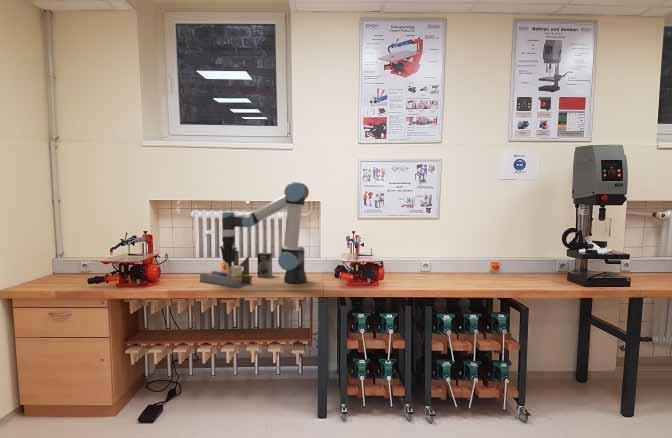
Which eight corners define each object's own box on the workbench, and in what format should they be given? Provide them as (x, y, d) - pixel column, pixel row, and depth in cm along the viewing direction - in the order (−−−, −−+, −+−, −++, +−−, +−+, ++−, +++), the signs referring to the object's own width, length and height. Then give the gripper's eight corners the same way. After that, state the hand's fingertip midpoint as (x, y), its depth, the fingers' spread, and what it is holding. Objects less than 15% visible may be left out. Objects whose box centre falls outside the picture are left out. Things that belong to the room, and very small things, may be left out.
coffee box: (257, 276, 255) (257, 253, 255) (260, 275, 262) (260, 252, 261) (269, 277, 254) (269, 254, 253) (272, 275, 261) (272, 252, 260)
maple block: (241, 281, 234) (241, 266, 234) (233, 283, 228) (233, 268, 228) (235, 280, 237) (235, 265, 237) (226, 282, 231) (226, 267, 231)
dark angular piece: (248, 276, 256) (248, 251, 255) (232, 276, 255) (232, 251, 254) (249, 275, 260) (249, 250, 259) (233, 275, 259) (233, 250, 258)
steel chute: (251, 284, 234) (251, 275, 233) (237, 287, 223) (237, 279, 223) (214, 277, 251) (214, 270, 250) (199, 281, 240) (199, 273, 240)
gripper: (240, 236, 234) (240, 272, 235) (225, 234, 240) (225, 270, 242) (231, 237, 227) (231, 274, 229) (216, 235, 234) (217, 272, 235)
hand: (228, 272), depth 235 cm, fingers closed
